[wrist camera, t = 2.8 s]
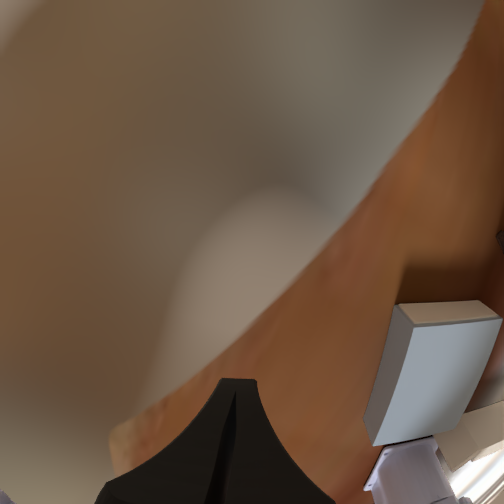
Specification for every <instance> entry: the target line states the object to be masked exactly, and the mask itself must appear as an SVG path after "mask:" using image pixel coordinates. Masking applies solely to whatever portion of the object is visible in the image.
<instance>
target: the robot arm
mask: <svg viewBox="0 0 504 504" xmlns="http://www.w3.org/2000/svg"><path fill="white" fill-rule="evenodd" d="M437 449H438V445H437V443H436V441H435V439H434V437H429V438H425V439H421V440H416V441H412V442H407V443H403V444H398V445H393V446H387V447H385V448H384V449H383V450H382V452H381V454H380V456H379V458H378V461H377V463H376V465H375V467H374V469H373V471H372V473H371V475H370V477H369V478H368V480H367V482H366V484H365V486H364V490H365V491H367V490H371V491H372V495H373V498H374V502H375V504H473V503H472V501H471V499H470V498H467V497H461V498H460V499H459V500H458V499H457V498H456V497H455V494H454V492H453V490H452V488H451V486H450V483H449V481H448V479H447V477H446V475H445V473H444V470H443V468H442V466H441V464H440V462H439V460H438V458H437V456H436V454H435V452H436V450H437ZM0 504H16V503H15V502H13V501H11V499H10V498H9V497H8V496H7V495H6V494H5V493H4V492H3V491H2V490H1V489H0ZM95 504H336V503H335V501H334V500H333V499H332V498H330V497H329V496H328V495H327V494H325V493H324V492H323V491H322V490H321V489H320V488H319V487H317V486H316V485H315V484H314V483H313V482H312V481H311V480H310V479H309V478H308V477H307V476H306V475H305V473H304V472H303V471H302V470H301V469H300V468H299V467H298V465H297V464H296V463H295V462H294V461H293V459H292V458H291V457H290V455H289V454H288V453H287V451H286V450H285V448H284V447H283V445H282V444H281V442H280V441H279V439H278V437H277V436H276V434H275V432H274V430H273V428H272V426H271V424H270V422H269V420H268V418H267V416H266V413H265V411H264V408H263V406H262V403H261V400H260V397H259V393H258V388H257V381H256V380H255V379H233V378H222V379H220V380H219V382H218V384H217V386H216V388H215V390H214V391H213V393H212V395H211V396H210V398H209V399H208V401H207V402H206V404H205V405H204V406H203V408H202V409H201V410H200V412H199V413H198V414H197V416H196V417H195V418H194V419H193V420H192V421H191V423H190V424H189V425H188V426H187V427H186V428H185V429H184V430H183V432H182V433H181V434H180V435H179V436H177V437H176V438H175V439H174V440H173V441H172V442H171V443H170V444H169V445H167V446H166V447H165V448H164V449H163V450H161V451H160V452H159V453H158V454H156V455H155V456H153V457H152V458H151V459H149V460H147V461H146V462H144V463H143V464H141V465H140V466H138V467H136V468H135V469H133V470H131V471H129V472H127V473H125V474H123V475H121V476H119V477H117V478H115V479H113V480H111V481H108V482H106V484H105V485H104V487H103V488H102V490H101V491H100V493H99V495H98V497H97V499H96V502H95Z"/></svg>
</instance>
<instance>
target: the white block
mask: <svg viewBox="0 0 504 504" xmlns="http://www.w3.org/2000/svg"><path fill="white" fill-rule="evenodd" d="M502 320H503V318H501V317H500V316H499V315H498V314H496V313H495V312H494V311H492V310H491V309H490V308H488V307H487V306H486V305H484V304H483V303H482V302H480V301H479V300H472V301H455V302H434V303H408V304H399V305H394V308H393V313H392V318H391V322H390V327H389V331H388V335H387V339H386V343H385V347H384V351H383V355H382V359H381V362H380V366H379V370H378V373H377V377H376V380H375V383H374V387H373V390H372V393H371V396H370V399H369V403H368V406H367V409H366V412H365V414H364V417H363V420H364V423H365V426H366V429H367V432H368V435H369V438H370V441H371V444H372V446H378V445H384V444H390V443H396V442H401V441H406V440H411V439H416V438H420V437H425V436H429V435H433V434H437V433H441V432H445V431H449V430H452V429H455V427H456V426H457V424H458V422H459V420H460V418H461V417H462V415H463V413H464V411H465V409H466V407H467V405H468V403H469V401H470V399H471V397H472V395H473V393H474V391H475V389H476V387H477V385H478V382H479V380H480V378H481V376H482V373H483V371H484V369H485V366H486V364H487V361H488V359H489V356H490V354H491V351H492V349H493V346H494V343H495V341H496V338H497V335H498V332H499V329H500V326H501V323H502Z"/></svg>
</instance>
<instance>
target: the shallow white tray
mask: <svg viewBox="0 0 504 504" xmlns="http://www.w3.org/2000/svg"><path fill="white" fill-rule="evenodd" d="M433 437H434V439H435V441H436V443H437V445H438V447H439V448H440V450H441V452H442V454H443V456H444V458H445V460H446V462H447V464H448V466H449V468H450V471H452V472H454V471H456V470H457V469H459V468H460V467H461V466H463V465H464V464H465V463H467V462H468V461H469V460H471V461H472V462H473V461H475V460H478V459H480V458H483V457H485V456H487V455H490V454H492V453H494V452H496V451H498V450H500V449H503V448H504V400H503V401H500V402H497V403H495V404H492V405H489V406H486V407H483V408H480V409H477V410H474V411H471V412H468V413H464V414H463V415H462V417H461V418H460V420H459V422H458V424H457V426H456V427H455V429H452V430H449V431H445V432H441V433H437V434H433Z"/></svg>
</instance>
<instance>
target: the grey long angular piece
mask: <svg viewBox="0 0 504 504" xmlns="http://www.w3.org/2000/svg"><path fill="white" fill-rule="evenodd" d="M496 238H497V240H498V242H499V245H500V247H501V249H502V251H503V254H504V231H502V230H501V231H500V232H499V233H498V234H497V236H496Z"/></svg>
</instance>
